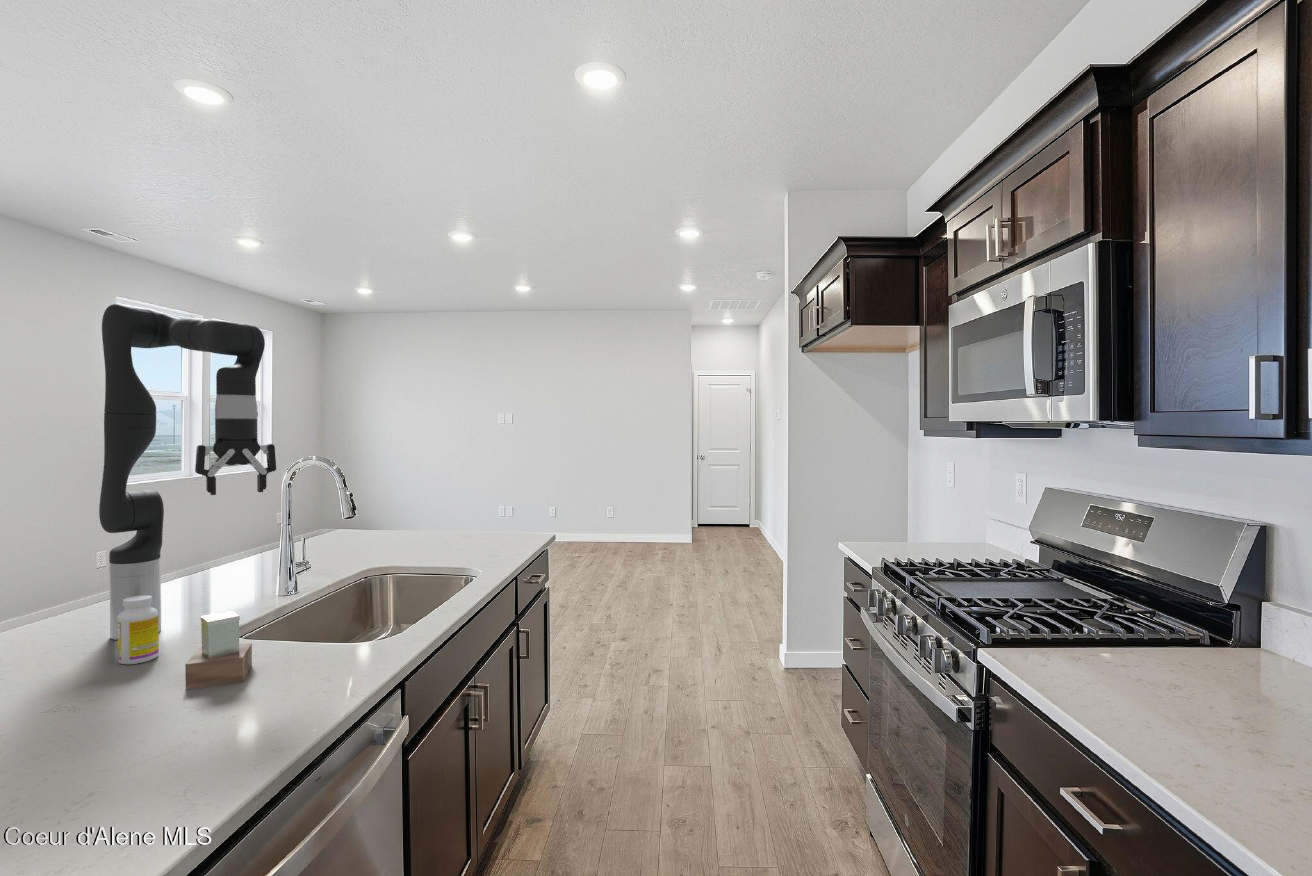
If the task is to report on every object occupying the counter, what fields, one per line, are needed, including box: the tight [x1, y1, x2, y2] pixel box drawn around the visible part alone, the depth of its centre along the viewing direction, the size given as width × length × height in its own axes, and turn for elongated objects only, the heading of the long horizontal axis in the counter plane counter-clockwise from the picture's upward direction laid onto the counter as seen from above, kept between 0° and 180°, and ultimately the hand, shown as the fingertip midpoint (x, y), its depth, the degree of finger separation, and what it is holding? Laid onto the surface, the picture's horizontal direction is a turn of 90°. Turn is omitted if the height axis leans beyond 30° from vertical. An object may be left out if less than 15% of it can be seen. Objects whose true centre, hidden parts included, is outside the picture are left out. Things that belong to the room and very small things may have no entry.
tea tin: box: [200, 610, 241, 659], centre depth 125 cm, size 5×5×7 cm
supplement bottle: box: [117, 595, 160, 665], centre depth 134 cm, size 7×7×13 cm
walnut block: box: [184, 642, 253, 691], centre depth 125 cm, size 9×9×5 cm
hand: (237, 493), depth 137 cm, fingers open, 8 cm apart
